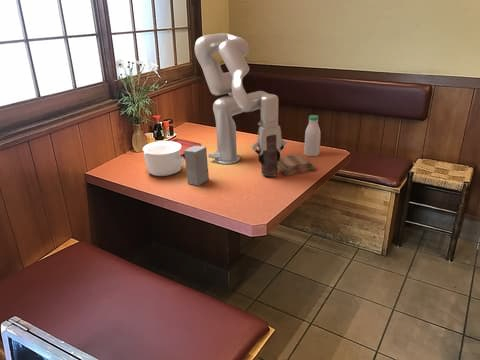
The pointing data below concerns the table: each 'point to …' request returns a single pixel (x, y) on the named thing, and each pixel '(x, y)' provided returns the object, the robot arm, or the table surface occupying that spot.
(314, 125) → the milk bottle
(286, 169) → the plinth
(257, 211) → the table surface
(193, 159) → the skincare box
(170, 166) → the pot
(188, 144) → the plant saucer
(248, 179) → the table surface
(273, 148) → the dark brown rough cylinder
